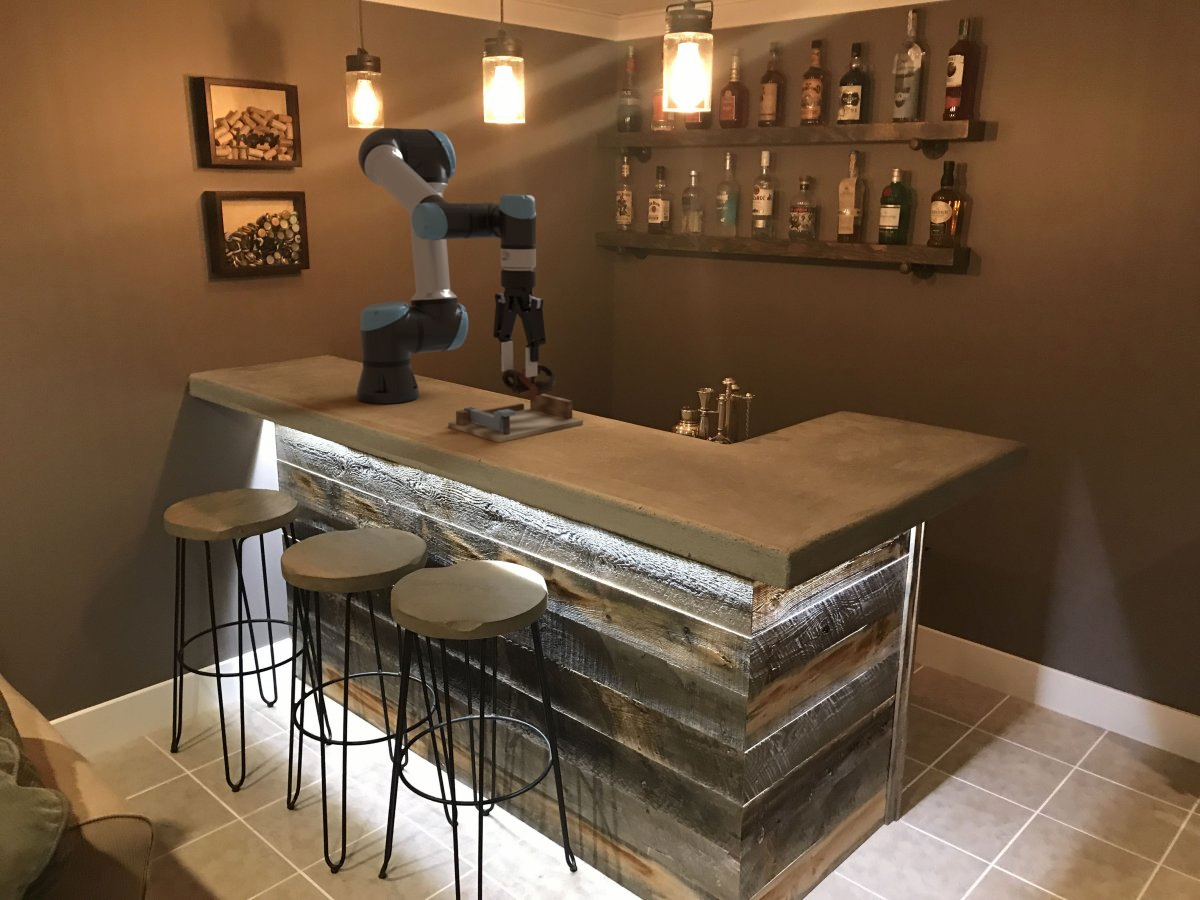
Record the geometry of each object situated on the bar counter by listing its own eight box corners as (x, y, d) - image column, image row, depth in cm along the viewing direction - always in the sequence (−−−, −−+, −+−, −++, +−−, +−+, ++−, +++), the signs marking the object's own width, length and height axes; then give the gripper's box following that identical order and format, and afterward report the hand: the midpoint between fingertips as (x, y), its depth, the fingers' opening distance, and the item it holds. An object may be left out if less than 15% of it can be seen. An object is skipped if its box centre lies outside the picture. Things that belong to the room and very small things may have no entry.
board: (448, 426, 215) (447, 404, 213) (531, 410, 231) (531, 389, 229) (498, 442, 202) (498, 419, 201) (582, 424, 218) (583, 402, 217)
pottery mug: (551, 393, 223) (559, 364, 218) (548, 418, 216) (556, 389, 210) (500, 381, 221) (507, 352, 216) (495, 406, 214) (502, 377, 209)
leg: (515, 432, 205) (515, 411, 204) (505, 434, 203) (504, 413, 202) (473, 418, 216) (472, 398, 215) (462, 419, 215) (462, 399, 213)
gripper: (475, 266, 212) (477, 369, 218) (536, 273, 198) (536, 382, 204) (502, 264, 217) (503, 365, 224) (563, 271, 203) (563, 378, 209)
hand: (519, 373), depth 214 cm, fingers closed on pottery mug, 8 cm apart
